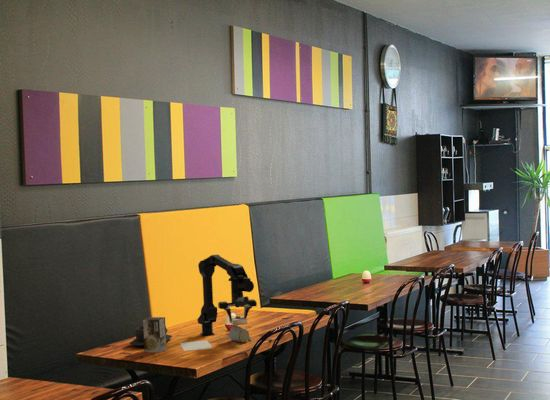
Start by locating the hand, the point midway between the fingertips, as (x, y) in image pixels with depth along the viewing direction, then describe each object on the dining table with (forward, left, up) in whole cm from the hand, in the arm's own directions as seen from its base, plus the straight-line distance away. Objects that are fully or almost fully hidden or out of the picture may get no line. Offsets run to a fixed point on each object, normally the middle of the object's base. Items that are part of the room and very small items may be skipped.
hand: (238, 321), depth 372 cm
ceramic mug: (-1, +2, -11) cm, 11 cm away
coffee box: (+4, -42, -11) cm, 44 cm away
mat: (+2, -22, -10) cm, 24 cm away
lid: (0, 0, -1) cm, 1 cm away
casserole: (-14, -42, -11) cm, 46 cm away
